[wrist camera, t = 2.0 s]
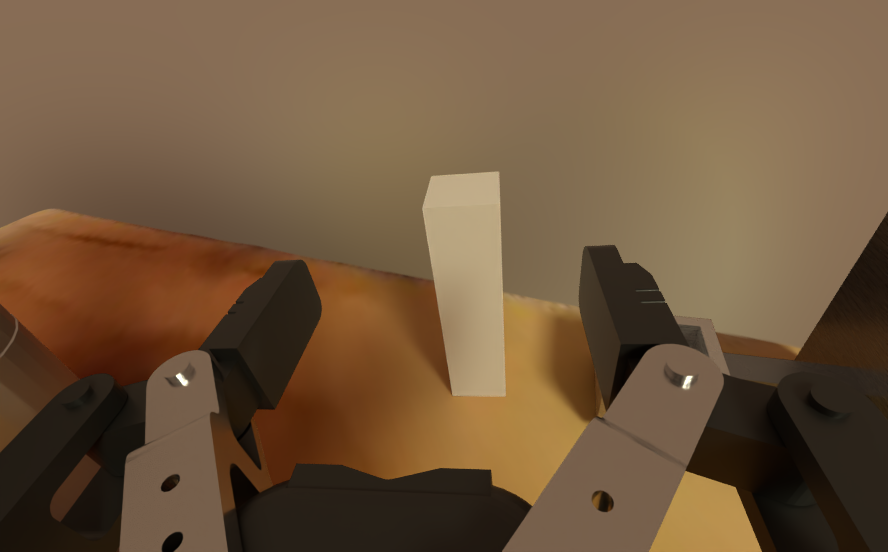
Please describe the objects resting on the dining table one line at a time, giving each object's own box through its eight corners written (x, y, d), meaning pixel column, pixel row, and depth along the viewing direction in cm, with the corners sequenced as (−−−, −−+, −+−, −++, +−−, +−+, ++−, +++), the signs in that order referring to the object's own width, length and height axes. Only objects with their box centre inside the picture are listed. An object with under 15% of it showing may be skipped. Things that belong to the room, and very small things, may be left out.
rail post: (452, 395, 30) (422, 208, 21) (456, 355, 34) (431, 176, 24) (505, 396, 30) (500, 203, 20) (504, 355, 33) (499, 171, 23)
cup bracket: (594, 455, 26) (677, 85, 12) (592, 341, 33) (642, 34, 20) (897, 513, 21) (1522, 43, 8) (816, 367, 29) (1071, -1, 16)
